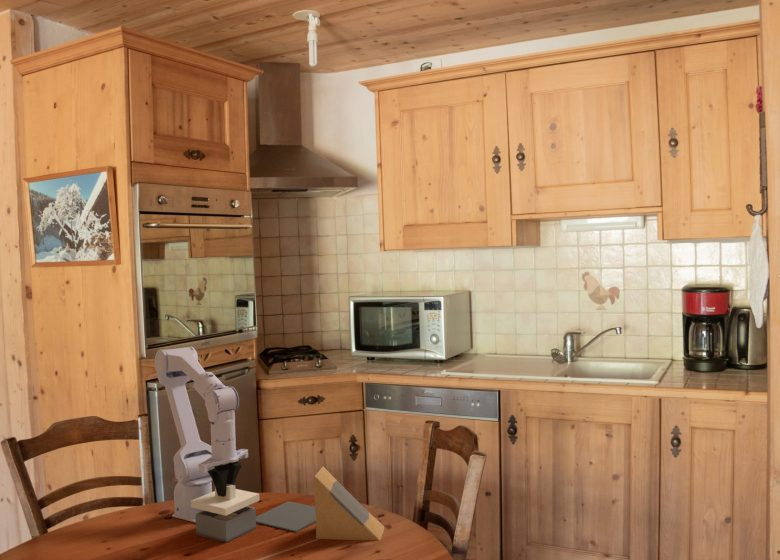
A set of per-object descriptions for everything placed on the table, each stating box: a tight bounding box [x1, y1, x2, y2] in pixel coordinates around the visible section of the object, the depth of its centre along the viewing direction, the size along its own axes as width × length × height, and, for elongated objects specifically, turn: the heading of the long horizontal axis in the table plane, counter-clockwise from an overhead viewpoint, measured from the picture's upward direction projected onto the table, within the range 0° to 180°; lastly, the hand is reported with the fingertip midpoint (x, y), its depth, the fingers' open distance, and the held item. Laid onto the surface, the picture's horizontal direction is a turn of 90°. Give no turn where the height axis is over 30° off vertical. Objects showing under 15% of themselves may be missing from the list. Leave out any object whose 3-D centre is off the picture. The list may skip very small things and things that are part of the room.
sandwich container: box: [313, 465, 385, 541], centre depth 167 cm, size 9×15×15 cm, turn 83°
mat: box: [256, 500, 316, 533], centre depth 178 cm, size 15×15×1 cm
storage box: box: [195, 505, 257, 543], centre depth 170 cm, size 10×10×5 cm
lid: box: [191, 484, 260, 516], centre depth 170 cm, size 11×11×5 cm
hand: (225, 494), depth 170 cm, fingers closed on lid, 2 cm apart
